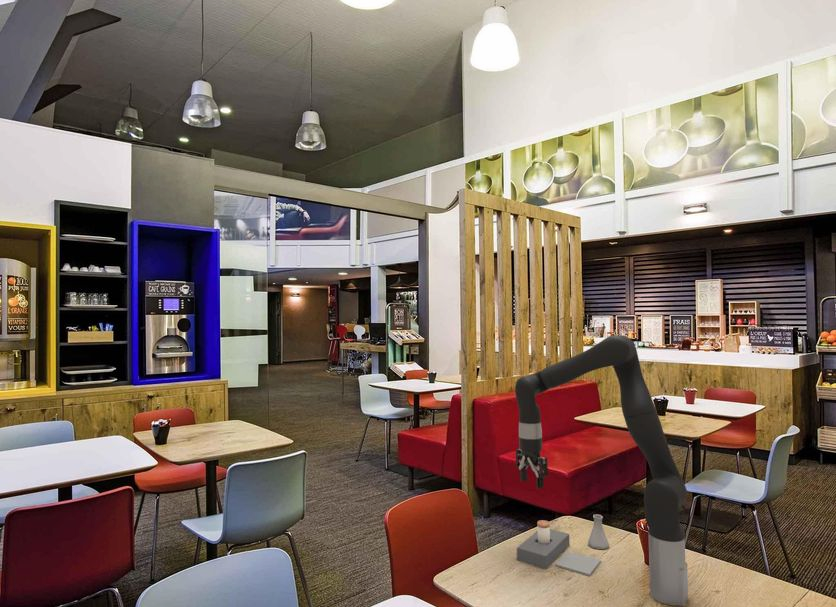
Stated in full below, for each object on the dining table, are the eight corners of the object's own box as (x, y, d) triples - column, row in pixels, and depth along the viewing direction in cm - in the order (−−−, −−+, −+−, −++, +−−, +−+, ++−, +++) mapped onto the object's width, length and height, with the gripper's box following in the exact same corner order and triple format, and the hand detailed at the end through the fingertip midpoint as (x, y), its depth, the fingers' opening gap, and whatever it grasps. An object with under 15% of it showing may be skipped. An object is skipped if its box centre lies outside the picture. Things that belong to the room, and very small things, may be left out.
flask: (612, 550, 171) (612, 520, 172) (591, 550, 171) (590, 520, 172) (605, 540, 179) (604, 512, 179) (584, 540, 179) (584, 512, 179)
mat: (601, 562, 163) (601, 560, 163) (589, 576, 154) (589, 574, 154) (567, 552, 170) (567, 550, 170) (555, 565, 161) (555, 564, 161)
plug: (552, 552, 170) (551, 522, 171) (547, 556, 167) (546, 526, 168) (540, 548, 173) (540, 519, 173) (535, 553, 170) (535, 523, 170)
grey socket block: (569, 545, 175) (569, 533, 175) (546, 569, 159) (545, 556, 159) (542, 538, 181) (541, 526, 181) (517, 560, 165) (516, 547, 165)
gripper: (553, 438, 165) (554, 489, 164) (526, 430, 177) (527, 477, 177) (534, 441, 161) (536, 492, 161) (508, 432, 174) (509, 480, 174)
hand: (531, 484), depth 169 cm, fingers open, 8 cm apart
